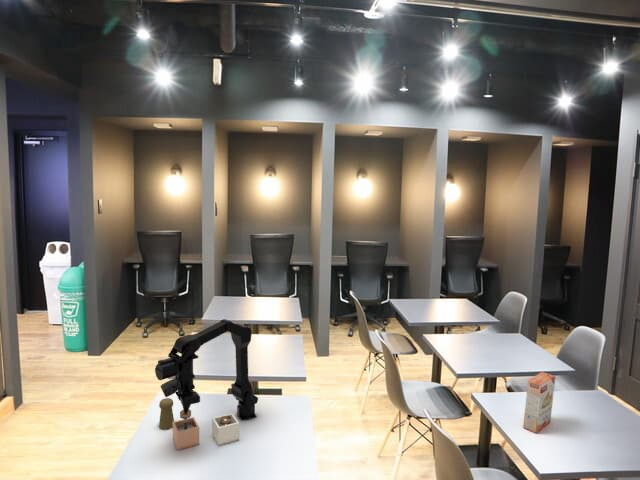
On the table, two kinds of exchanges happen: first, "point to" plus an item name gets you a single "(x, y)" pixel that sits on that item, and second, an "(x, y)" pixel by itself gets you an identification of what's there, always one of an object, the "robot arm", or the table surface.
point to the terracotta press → (185, 434)
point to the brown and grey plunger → (185, 420)
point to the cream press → (225, 430)
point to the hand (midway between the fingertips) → (185, 411)
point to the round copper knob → (225, 420)
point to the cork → (166, 414)
